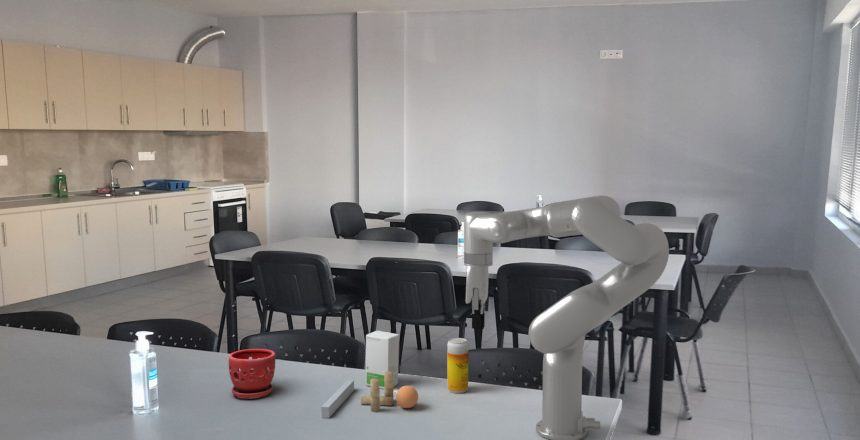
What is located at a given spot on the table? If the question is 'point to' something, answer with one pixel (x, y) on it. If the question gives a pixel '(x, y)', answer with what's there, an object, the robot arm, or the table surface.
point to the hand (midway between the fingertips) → (478, 327)
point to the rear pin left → (375, 395)
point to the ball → (407, 396)
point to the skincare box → (381, 356)
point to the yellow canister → (457, 365)
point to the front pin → (383, 400)
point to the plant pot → (252, 372)
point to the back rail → (337, 399)
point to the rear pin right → (388, 383)
